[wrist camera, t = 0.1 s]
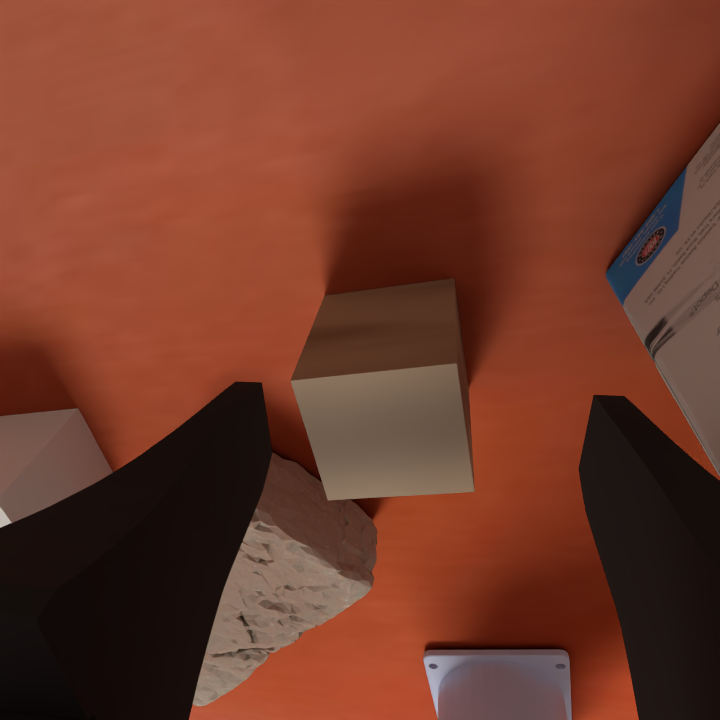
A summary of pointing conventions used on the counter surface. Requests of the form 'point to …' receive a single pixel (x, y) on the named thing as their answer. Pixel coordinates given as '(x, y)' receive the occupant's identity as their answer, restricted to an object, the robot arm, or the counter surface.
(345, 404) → the walnut block
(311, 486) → the brick
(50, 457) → the grey block
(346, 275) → the counter surface
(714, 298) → the ink box
